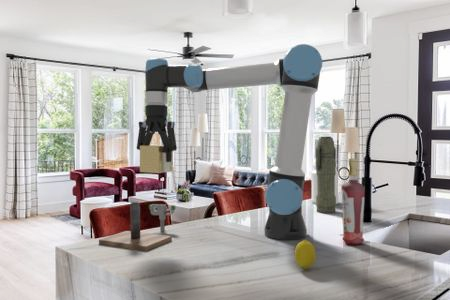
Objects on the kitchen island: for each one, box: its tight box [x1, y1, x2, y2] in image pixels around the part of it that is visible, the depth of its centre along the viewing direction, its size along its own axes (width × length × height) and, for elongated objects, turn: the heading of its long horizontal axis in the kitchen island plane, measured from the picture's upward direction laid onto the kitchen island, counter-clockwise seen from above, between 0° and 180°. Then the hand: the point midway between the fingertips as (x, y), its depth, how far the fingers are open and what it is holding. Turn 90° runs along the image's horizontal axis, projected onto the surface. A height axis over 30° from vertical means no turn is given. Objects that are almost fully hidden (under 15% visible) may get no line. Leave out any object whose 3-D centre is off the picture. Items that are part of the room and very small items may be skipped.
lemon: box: [294, 239, 317, 270], centre depth 109 cm, size 6×6×8 cm
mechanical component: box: [148, 203, 177, 232], centre depth 156 cm, size 3×10×10 cm, turn 78°
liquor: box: [341, 158, 366, 246], centre depth 134 cm, size 7×7×28 cm
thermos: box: [315, 136, 337, 214], centre depth 190 cm, size 9×12×35 cm
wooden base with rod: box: [98, 201, 173, 252], centre depth 139 cm, size 20×14×14 cm
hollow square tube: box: [139, 144, 174, 174], centre depth 141 cm, size 8×8×9 cm
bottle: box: [310, 157, 340, 205], centre depth 213 cm, size 14×14×28 cm
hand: (156, 170), depth 141 cm, fingers closed on hollow square tube, 8 cm apart
